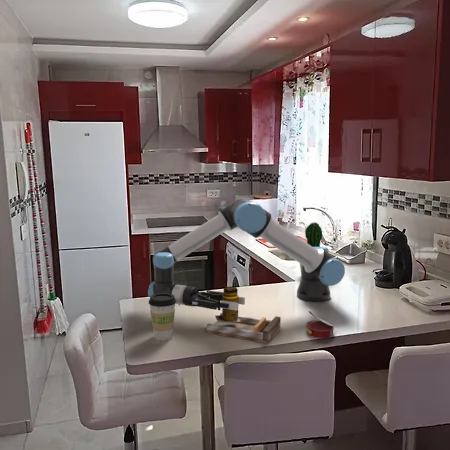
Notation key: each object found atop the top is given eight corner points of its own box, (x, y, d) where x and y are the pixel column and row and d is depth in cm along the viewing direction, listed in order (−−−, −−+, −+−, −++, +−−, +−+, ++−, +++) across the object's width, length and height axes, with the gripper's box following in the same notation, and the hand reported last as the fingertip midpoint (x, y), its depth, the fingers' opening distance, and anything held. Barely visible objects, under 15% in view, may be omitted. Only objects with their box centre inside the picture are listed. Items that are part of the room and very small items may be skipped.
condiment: (241, 321, 166) (241, 290, 164) (218, 323, 164) (218, 291, 162) (236, 314, 173) (236, 284, 171) (214, 316, 171) (215, 286, 169)
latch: (253, 335, 160) (253, 327, 160) (262, 325, 170) (262, 317, 169) (256, 335, 160) (256, 327, 159) (265, 325, 169) (265, 317, 169)
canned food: (308, 340, 170) (309, 313, 173) (335, 341, 166) (336, 314, 170) (302, 336, 160) (302, 308, 164) (330, 338, 157) (330, 309, 160)
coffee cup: (145, 341, 157) (144, 300, 155) (154, 330, 167) (153, 291, 164) (172, 343, 156) (172, 302, 153) (180, 332, 165) (179, 293, 163)
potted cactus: (316, 272, 247) (318, 218, 242) (332, 279, 233) (335, 222, 228) (292, 274, 242) (293, 220, 237) (307, 282, 228) (309, 224, 223)
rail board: (205, 332, 165) (205, 321, 164) (221, 318, 179) (222, 308, 178) (268, 343, 156) (268, 331, 155) (280, 328, 169) (280, 317, 169)
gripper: (196, 297, 184) (249, 305, 175) (173, 312, 167) (231, 322, 158) (196, 279, 183) (250, 287, 174) (173, 293, 165) (231, 301, 157)
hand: (241, 303), depth 166 cm, fingers closed on condiment, 6 cm apart
